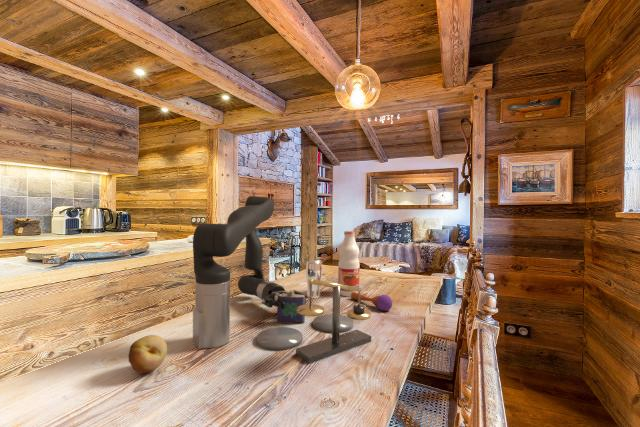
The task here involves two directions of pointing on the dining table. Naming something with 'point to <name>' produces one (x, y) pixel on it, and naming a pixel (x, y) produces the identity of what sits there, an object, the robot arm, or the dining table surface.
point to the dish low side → (325, 323)
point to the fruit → (147, 353)
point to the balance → (333, 326)
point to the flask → (290, 308)
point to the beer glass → (313, 277)
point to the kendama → (375, 300)
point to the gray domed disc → (279, 338)
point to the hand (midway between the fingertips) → (294, 303)
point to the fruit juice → (348, 263)
